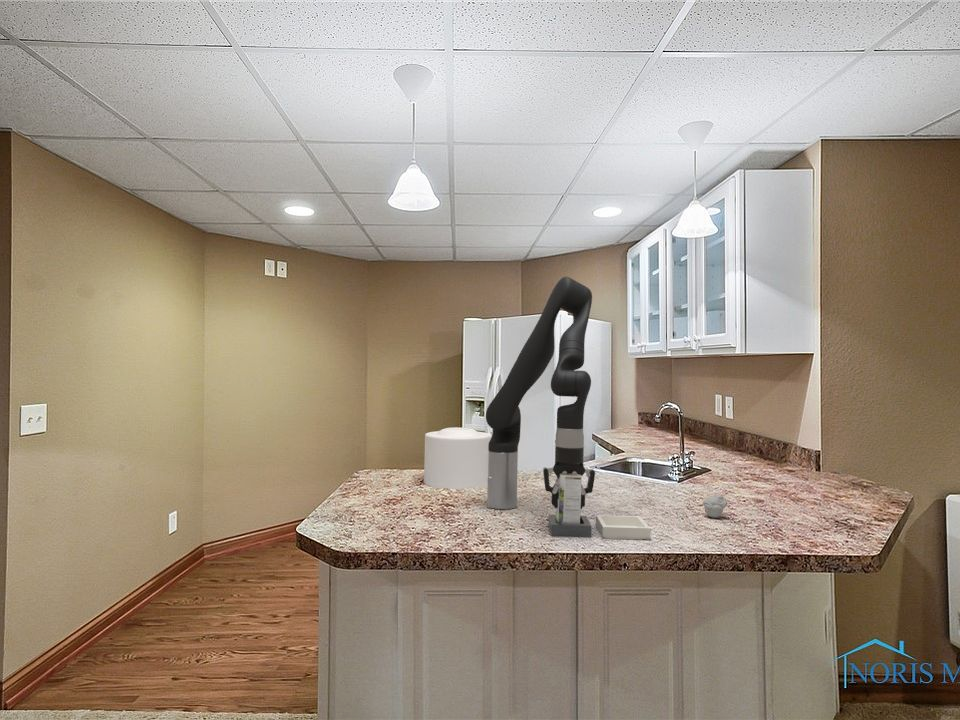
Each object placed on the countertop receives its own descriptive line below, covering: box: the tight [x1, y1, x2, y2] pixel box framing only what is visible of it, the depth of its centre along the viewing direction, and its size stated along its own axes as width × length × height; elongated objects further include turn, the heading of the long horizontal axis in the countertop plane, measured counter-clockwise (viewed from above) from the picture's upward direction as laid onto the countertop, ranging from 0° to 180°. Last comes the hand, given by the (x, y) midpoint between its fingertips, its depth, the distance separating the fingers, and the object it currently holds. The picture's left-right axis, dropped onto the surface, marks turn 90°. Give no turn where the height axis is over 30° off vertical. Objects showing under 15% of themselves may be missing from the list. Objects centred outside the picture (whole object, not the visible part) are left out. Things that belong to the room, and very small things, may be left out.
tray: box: [595, 514, 652, 541], centre depth 154 cm, size 12×12×3 cm
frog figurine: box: [702, 493, 729, 519], centre depth 172 cm, size 6×7×7 cm
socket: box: [548, 514, 592, 538], centre depth 155 cm, size 10×10×3 cm
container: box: [423, 426, 492, 490], centre depth 218 cm, size 25×25×20 cm
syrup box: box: [554, 473, 583, 524], centre depth 155 cm, size 6×6×14 cm
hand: (568, 507), depth 155 cm, fingers closed on syrup box, 6 cm apart
